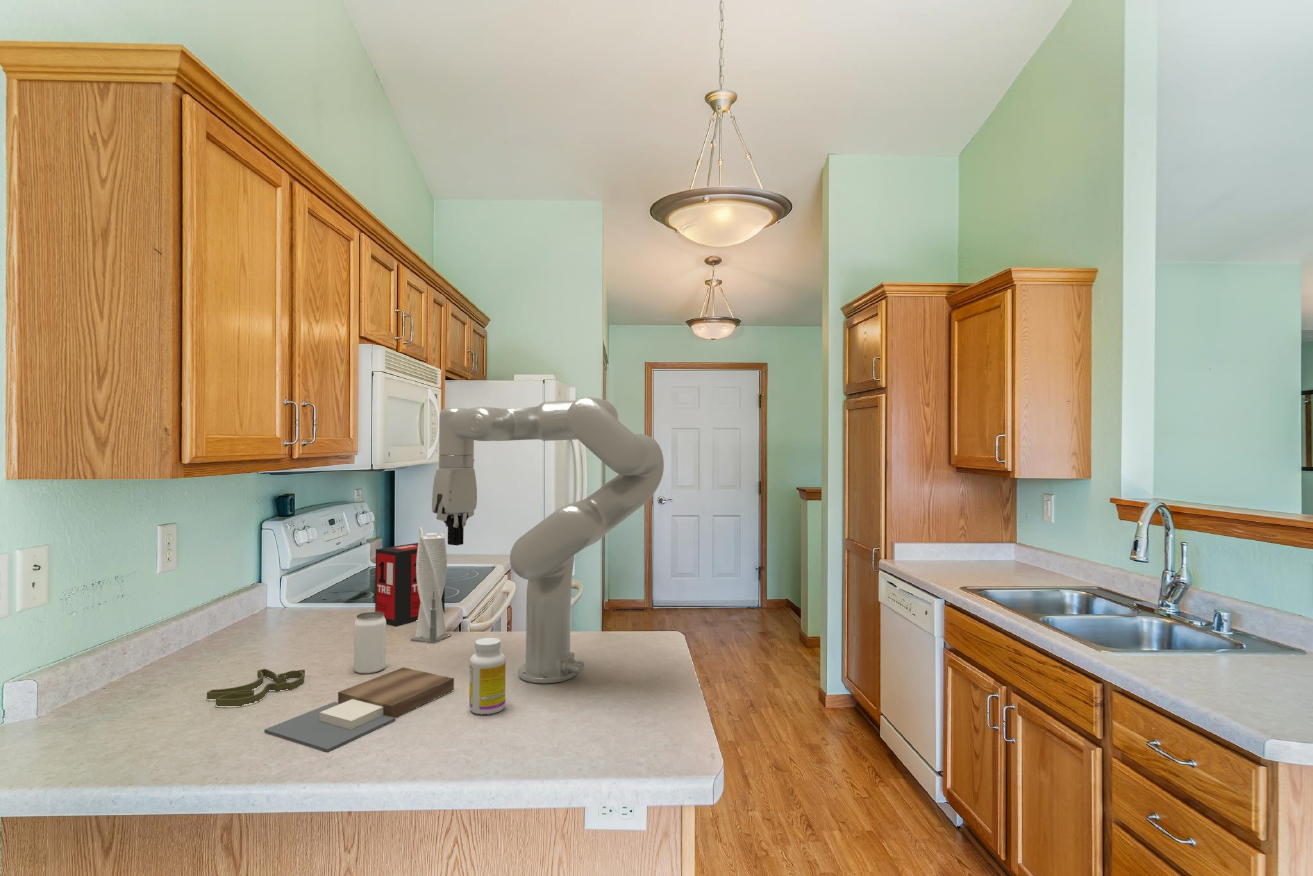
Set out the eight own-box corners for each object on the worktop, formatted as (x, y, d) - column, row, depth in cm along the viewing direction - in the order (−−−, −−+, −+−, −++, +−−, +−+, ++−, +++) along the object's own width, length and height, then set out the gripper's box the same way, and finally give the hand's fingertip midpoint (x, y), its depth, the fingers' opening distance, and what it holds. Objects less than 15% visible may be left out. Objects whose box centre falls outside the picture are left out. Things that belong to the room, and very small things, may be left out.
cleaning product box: (423, 609, 203) (424, 541, 203) (444, 613, 198) (445, 544, 198) (375, 621, 189) (375, 549, 189) (396, 626, 184) (397, 552, 184)
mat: (395, 720, 124) (395, 717, 124) (327, 752, 111) (327, 749, 111) (334, 704, 131) (334, 701, 131) (264, 732, 118) (264, 729, 118)
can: (374, 675, 147) (374, 619, 147) (347, 673, 148) (347, 617, 148) (391, 665, 153) (392, 612, 153) (365, 663, 154) (366, 610, 154)
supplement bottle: (512, 706, 131) (513, 639, 131) (487, 718, 125) (488, 648, 125) (486, 699, 134) (487, 634, 134) (461, 711, 129) (462, 642, 129)
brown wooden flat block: (453, 690, 139) (453, 678, 139) (391, 719, 124) (391, 705, 124) (403, 679, 145) (403, 667, 145) (338, 705, 130) (338, 692, 130)
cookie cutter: (269, 674, 148) (269, 665, 148) (317, 680, 145) (317, 671, 145) (195, 706, 130) (195, 696, 130) (247, 713, 127) (247, 703, 127)
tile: (383, 715, 125) (383, 706, 125) (351, 729, 119) (351, 721, 119) (352, 707, 128) (352, 699, 128) (319, 720, 122) (319, 712, 122)
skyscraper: (405, 640, 172) (407, 528, 172) (426, 631, 180) (427, 525, 180) (434, 643, 170) (435, 530, 170) (453, 634, 177) (455, 526, 177)
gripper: (466, 461, 163) (465, 539, 163) (418, 463, 149) (418, 547, 149) (491, 462, 159) (490, 541, 159) (445, 464, 146) (444, 550, 146)
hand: (455, 544), depth 154 cm, fingers closed
